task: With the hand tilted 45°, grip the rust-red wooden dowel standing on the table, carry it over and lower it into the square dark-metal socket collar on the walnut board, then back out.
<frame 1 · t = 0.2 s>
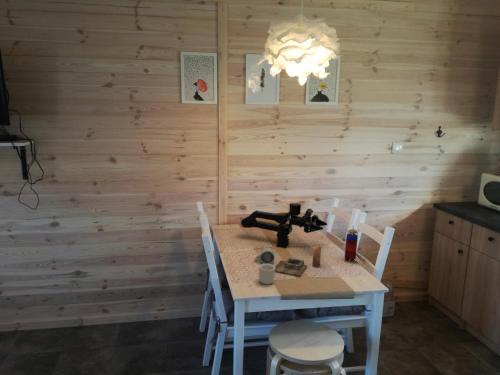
hand: (325, 226, 230), 17 cm above the table, tool horizontal, fingers open, 9 cm apart
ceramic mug: (264, 262, 219), on the table
socket board: (294, 268, 211), on the table
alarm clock: (348, 258, 227), on the table
peg: (316, 266, 215), on the table
cup: (266, 281, 196), on the table
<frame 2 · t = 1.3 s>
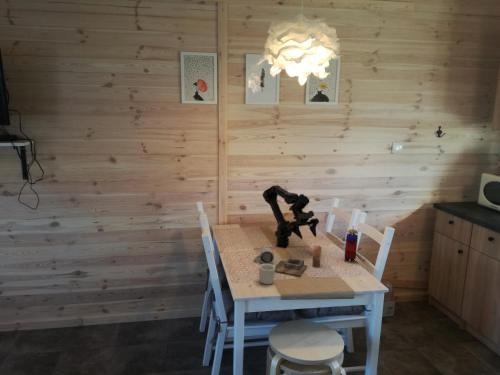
hand: (308, 237, 219), 14 cm above the table, tool tilted 45°, fingers open, 9 cm apart
nothing on the table moved.
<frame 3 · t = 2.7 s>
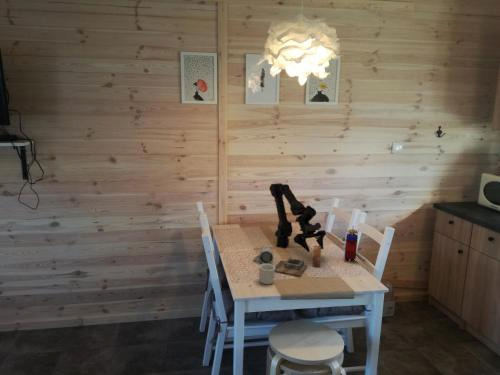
hand: (315, 250, 214), 9 cm above the table, tool tilted 45°, fingers open, 9 cm apart
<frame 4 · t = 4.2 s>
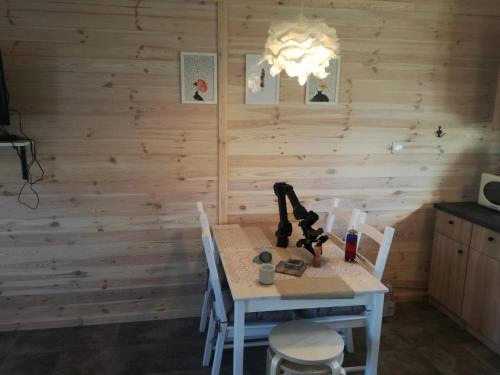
hand: (318, 255, 212), 7 cm above the table, tool tilted 45°, fingers closed on peg, 4 cm apart
peg: (316, 266, 215), on the table, touching gripper
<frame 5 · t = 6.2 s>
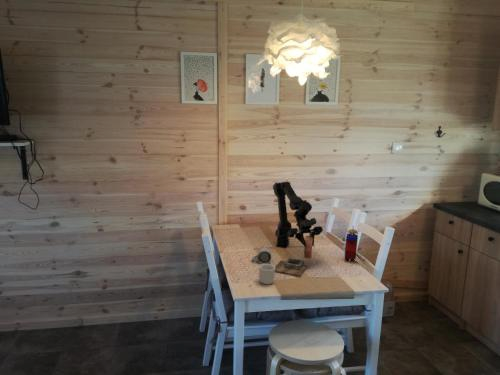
hand: (309, 246, 209), 13 cm above the table, tool tilted 45°, fingers closed on peg, 4 cm apart
peg: (307, 257, 212), point 6 cm above the table, touching gripper
when the fingers open (9 cm above the table, at t = 8.5 s): peg stays where it is, resting on socket board.
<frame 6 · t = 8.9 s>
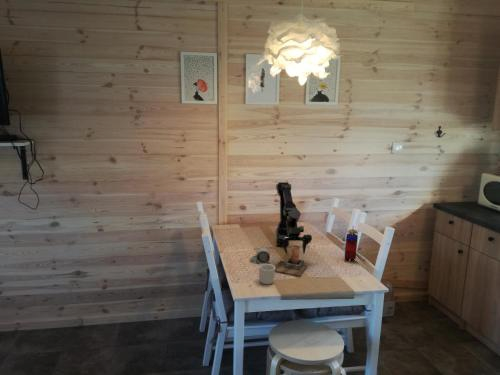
hand: (295, 253, 208), 9 cm above the table, tool tilted 45°, fingers open, 9 cm apart
peg: (294, 266, 211), point 1 cm above the table, touching socket board
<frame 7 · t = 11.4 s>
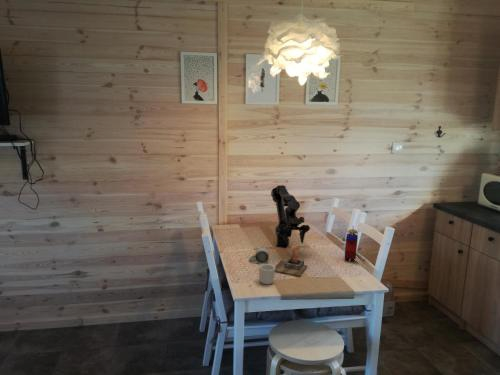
hand: (294, 243, 218), 11 cm above the table, tool tilted 40°, fingers open, 9 cm apart
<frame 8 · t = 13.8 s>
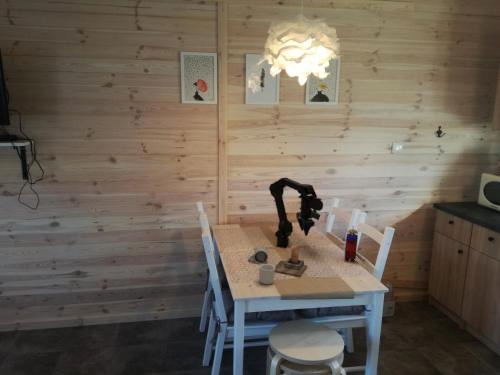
hand: (304, 233, 228), 13 cm above the table, tool pointing down, fingers open, 9 cm apart
at the end: peg 0.0 cm off-centre on the socket board, point 1.0 cm above the socket board's base; peg tilted 0°; the gripper is holding nothing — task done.
